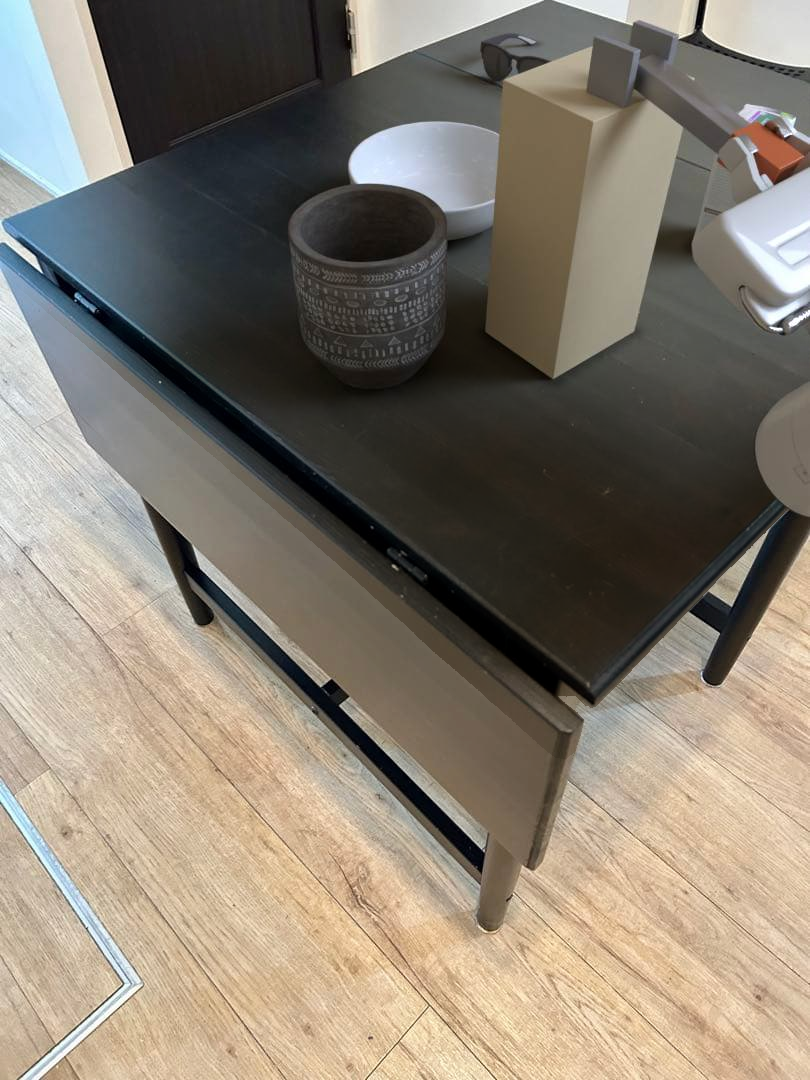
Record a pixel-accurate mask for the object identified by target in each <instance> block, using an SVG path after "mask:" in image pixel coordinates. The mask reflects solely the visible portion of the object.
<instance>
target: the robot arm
mask: <svg viewBox="0 0 810 1080" xmlns="http://www.w3.org/2000/svg"><path fill="white" fill-rule="evenodd" d="M764 126H765V127H766V128H768V129H769V130H770V131H772V132H773V133H774V134H776V135H777V136H778V137H780V138H781V139H782V140H784V141H785V142H786V143H788V144H789V145H790V146H792V147H793V148H794V149H796V150H797V151H798V152H800V153H801V154H802V155H804V158H803V160H802V161H801V163H800V164H799V166H798V168H797V169H796V171H795V173H794V174H793V176H791V177H789V178H787V179H785V180H784V181H782V182H780V183H778V184H776V185H773V183H772V182H771V181H770V179H769V178H768V177H767V175H766V174H763V175H761V176H760V175H759V172H758V169H757V166H756V162H755V159H754V155H755V154H756V153H757V152H758V151H759V149H758V147H757V146H756V145H755V143H754V142H752V141H751V138H750V136H749V135H748V134H746V133H742V134H740V135H738V136H736V137H733V138H731V139H729V140H728V141H727V142H726V143H725V144H724V146H723V147H722V148H721V149H720V150H719V158H720V160H721V161H722V162H723V164H724V165H725V167H726V168H727V169H728V171H729V172H730V174H729V175H730V181H731V188H732V194H733V199H734V201H735V202H736V203H737V205H736V206H734V207H732V208H730V209H728V210H727V211H725V212H723V213H721V214H719V215H718V216H717V217H716V218H715V219H714V220H712V221H711V222H710V223H709V224H708V225H707V226H706V227H705V228H704V229H703V230H702V231H701V232H700V233H699V234H698V235H697V236H696V237H695V238H694V237H693V238H694V240H693V239H692V241H691V251H692V258H693V260H694V262H695V264H696V265H697V267H698V268H699V269H700V270H701V271H702V273H703V274H704V275H705V277H706V278H707V279H708V280H709V282H710V283H711V284H712V285H713V286H714V287H715V288H716V290H717V291H718V292H719V293H720V294H721V295H722V296H723V297H724V298H725V300H726V301H727V302H728V303H729V304H730V305H731V306H733V308H735V309H736V311H737V312H739V313H740V314H741V315H742V316H745V318H748V319H749V320H750V321H751V323H753V325H754V326H755V327H756V328H757V329H758V330H760V331H762V332H764V331H765V332H767V333H770V334H778V335H779V336H782V337H785V336H789V335H791V334H793V333H795V332H796V331H798V330H799V329H800V328H801V327H802V326H803V329H805V330H806V332H807V334H808V335H810V136H807V135H805V134H804V133H802V132H800V131H797V129H796V128H795V127H794V126H793V125H792V124H791V123H790V121H789V120H788V119H787V117H786V116H784V115H780V116H778V117H775V118H774V119H772V120H770V121H768V122H766V123H765V124H764ZM776 324H777V325H776ZM775 325H776V326H775ZM753 459H754V463H755V467H756V470H757V473H758V475H759V478H760V481H761V482H762V483H763V485H764V487H765V488H766V489H767V491H768V493H769V494H770V495H771V496H772V497H773V498H774V500H776V501H777V503H779V504H780V505H782V506H783V507H784V508H786V509H787V510H788V511H790V512H792V513H793V514H796V515H798V516H800V517H802V518H803V517H804V518H806V519H810V380H808V381H807V382H805V383H803V384H802V385H800V386H799V387H797V388H794V389H793V390H792V391H790V392H789V393H787V394H786V395H784V396H783V397H781V398H780V399H779V400H778V401H777V402H776V403H775V404H774V405H773V406H772V407H771V408H770V409H769V410H768V411H767V412H765V414H764V415H763V416H762V417H761V419H760V421H759V423H758V425H757V427H756V429H755V434H754V438H753Z"/></svg>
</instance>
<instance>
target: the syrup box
mask: <svg viewBox="0 0 810 1080" xmlns="http://www.w3.org/2000/svg"><path fill="white" fill-rule="evenodd" d="M736 113H737V114H739V115H740V116H741V117H743V118H744V119H745V120H746V121H748V122H749V123H750V124H752V123H755V122H757V121H758V122H760V123H761V124H762V125H764V124H765V123H766V122H768V121H770V120H772V119H774V118H775V117H778V116H780V115H784V116H786V117H787V119H788V120H789V121H790V123H791V124H792V125H793V127H794V126H795V123H796V120H797V118H796V116H795V115H793V114H790V113H787V112H784V111H781V110H778V109H775V108H771V107H766V106H761V105H756V104H755V105H754V104H749V103H746V104H745V105H743V107H741V109H739V110H738V111H737V112H736ZM718 160H719V155H718V154H716V153H715V155H714V158H713V162H712V166H711V168H710V172H709V177H708V180H707V185H706V188H705V192H704V196H703V200H702V204H701V208H700V211H699V216H698V219H697V224H696V227H695V230H694V234H693V238H692V241H693V240H694V238H695V237H696V236H697V235H698V234H699V233H700V232H701V231H702V230H703V229H704V228H705V227H706V226H707V225H708V224H709V223H710V222H711V221H712V220H714V219H715V218H716V217H717V216H718V215H719V214H721V213H723V212H725V211H727V210H728V209H730V208H732V207H734V206H736V205H737V203H736V202H735V201H734V199H733V194H732V188H731V181H730V175H729V174H730V172H729V171H728V170H727V169H725V168H724V167H723V166H722V165H720V164H719V163H718Z"/></svg>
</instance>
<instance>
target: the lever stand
mask: <svg viewBox="0 0 810 1080" xmlns="http://www.w3.org/2000/svg"><path fill="white" fill-rule="evenodd" d="M679 38H680V34H679V33H675V32H673V31H671V30H667V29H665V28H662V27H659V26H658V25H654V24H651V23H648V22H646V21H643V20H641V19H638V20H636V21H633V22H632V26H631V32H630V38H629V43H628V44H627V43H624V42H622V41H619V40H616V39H614V38H611V37H609V36H606V35H604V34H598V35H595V36H594V37H593V41H592V45H591V46H589V47H586V48H583V49H581V50H577V51H576V52H573V53H570V54H567V55H565V56H562V57H560V58H557V59H555V60H551V61H552V62H549V63H546V64H544V65H541V66H538V67H536V68H533V69H531V70H528V71H525V72H523V73H520V74H518V73H517V74H515V75H512V76H510V77H506V78H505V79H503V80H502V92H501V107H500V120H499V133H498V134H499V147H498V161H497V175H496V189H495V203H494V217H493V226H492V233H491V244H490V245H491V247H490V259H489V263H490V264H489V273H488V274H489V275H488V276H489V277H488V287H487V301H486V302H487V303H486V316H485V317H486V318H485V330H484V332H485V333H486V334H488V335H489V336H491V337H492V338H493V339H495V340H496V341H498V342H499V343H501V344H502V345H503V346H504V347H506V348H507V349H509V350H510V351H512V352H513V353H515V354H516V355H517V356H519V357H521V358H522V359H523V360H525V361H526V362H528V363H529V364H530V365H532V366H534V367H535V368H536V369H537V370H539V371H540V372H542V373H543V374H545V375H546V376H547V377H549V378H550V379H552V380H554V379H556V378H558V377H559V376H561V375H563V374H564V373H567V372H568V371H570V370H571V369H573V368H575V367H576V366H578V365H580V364H582V363H584V362H585V361H587V360H589V359H590V358H592V357H594V356H595V355H598V354H599V353H601V352H602V351H604V350H605V349H607V348H609V347H610V346H612V345H614V344H615V343H617V342H619V341H621V340H622V339H624V338H625V337H627V336H629V335H631V334H633V333H634V332H635V331H636V330H635V329H636V326H637V321H638V317H639V313H640V309H641V305H642V300H643V297H644V292H645V288H646V284H647V279H648V275H649V272H650V267H651V263H652V258H653V255H654V251H655V246H656V243H657V238H658V233H659V230H660V226H661V222H662V217H663V213H664V208H665V204H666V201H667V196H668V192H669V188H670V184H671V179H672V176H673V171H674V168H675V163H676V158H677V154H678V150H679V146H680V142H681V138H682V134H683V130H684V128H683V127H682V126H681V125H680V124H678V123H677V122H676V121H674V120H673V119H672V118H671V117H669V116H668V115H667V114H665V113H664V112H663V111H662V110H660V109H659V108H658V107H657V106H655V105H654V104H653V103H651V102H650V101H649V100H648V99H646V98H645V97H644V96H643V95H641V94H640V93H639V92H637V91H636V90H635V89H634V83H635V78H636V73H637V67H638V62H639V59H642V58H644V57H647V56H649V55H652V54H654V53H658V54H659V55H660V56H662V57H663V58H664V59H666V60H667V61H668V62H670V63H671V64H672V65H674V61H675V57H676V52H677V47H678V43H679ZM686 75H687V76H688V77H690V78H691V79H692V80H694V81H695V77H693V76H691V75H689V74H686Z"/></svg>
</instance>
